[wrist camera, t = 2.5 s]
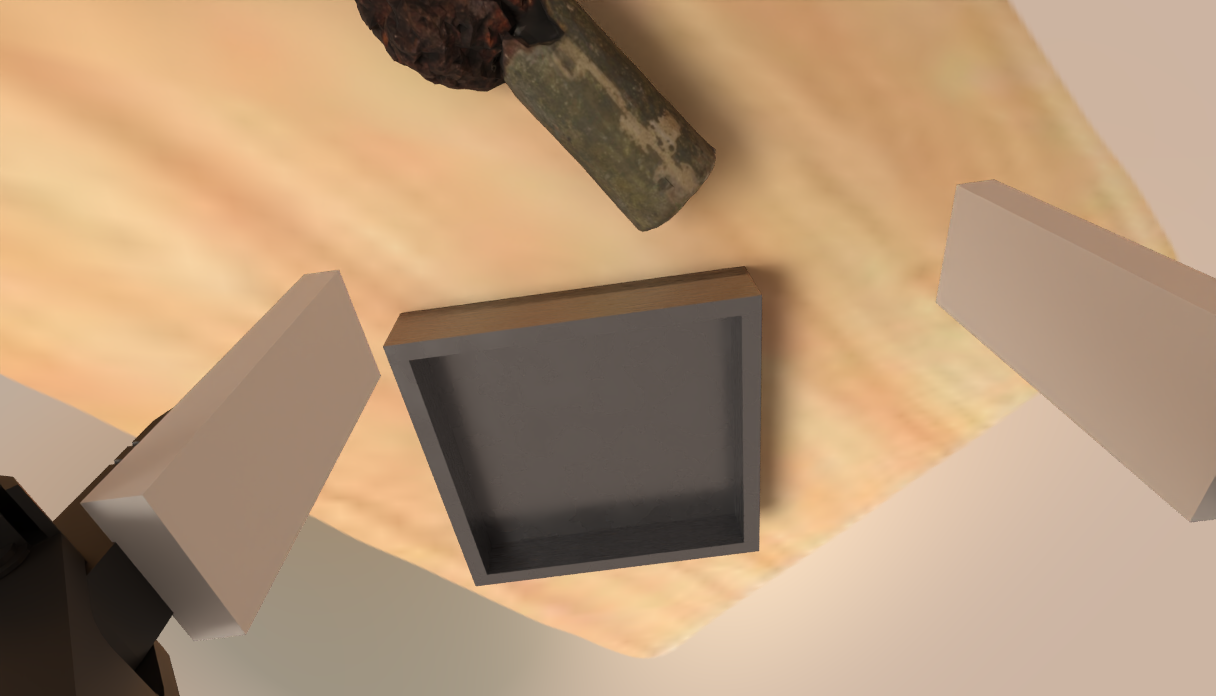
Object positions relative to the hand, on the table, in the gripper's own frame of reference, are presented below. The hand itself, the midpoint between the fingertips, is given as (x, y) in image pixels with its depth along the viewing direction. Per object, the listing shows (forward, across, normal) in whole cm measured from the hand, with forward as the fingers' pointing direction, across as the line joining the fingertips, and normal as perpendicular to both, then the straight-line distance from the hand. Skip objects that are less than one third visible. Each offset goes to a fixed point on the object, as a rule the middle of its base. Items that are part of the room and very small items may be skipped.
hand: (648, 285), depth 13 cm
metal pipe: (+20, 0, 0) cm, 20 cm away
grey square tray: (+18, -3, -18) cm, 25 cm away
